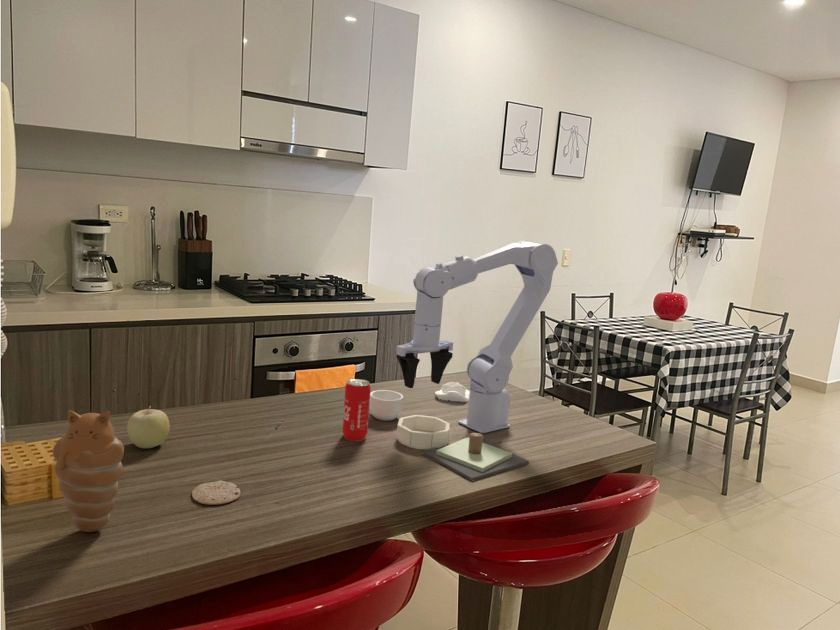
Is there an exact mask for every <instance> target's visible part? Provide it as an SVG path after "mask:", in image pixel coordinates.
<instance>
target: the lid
mask: <svg viewBox="0 0 840 630" xmlns="http://www.w3.org/2000/svg"><path fill="white" fill-rule="evenodd" d="M483 439H484V435H483V433H480V432H471V433H469V436H468V437H464V438H463V439H459V440H457V441H456V442H453V443H451V444H447V445H448V446H447V445H446V446H445V447H443V448H441V449H438V450H436V454H437V455H440V456H442V457H445V458H447V459H450V460H453V461H455V462H458V463H460V464H463V465H465V466H468V467H470V468H473V469H476V470H478V471H481V472H483V471H485V470H487V469H489V468H491V467H493V466H495V465H497V464H499V463H501V462H503V461H505V460H507V459H509V458H511V457H512V453H513V452H511V451H509V450H507V451H505V450H506V449H505V450H502V449H499V448H497V447H494V446H491V445H488V444H485V443H483V442H482V441H483ZM508 451H509V452H508Z"/></svg>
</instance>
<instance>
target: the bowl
mask: <svg viewBox="0 0 840 630" xmlns="http://www.w3.org/2000/svg"><path fill="white" fill-rule="evenodd" d="M450 425H451V424H450V422H447V421H445V420H444V419H442V418H439V417H437V416H432V415H431V416H430V415H421V414H413V415H409V416H404V417H403V416H402V417H400V418H399V419H398V423H397V427H396V440H397V441H398V442H399V443H400V444H401V445H404V446H406V447H407V448H411V449H414V450H415V449H416V450H421V451H427V450H431V449H435V448H439V447H443V446H447V445H449V436H450Z"/></svg>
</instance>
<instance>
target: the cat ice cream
mask: <svg viewBox="0 0 840 630" xmlns="http://www.w3.org/2000/svg"><path fill="white" fill-rule="evenodd" d="M110 416H111V412H110V410H107V411H104V412H102V413H97V412H87V413H83V414H79V413H77V412H75V411H74V410H71V409H68V411H67V420H68V427H67V429H66V432H65V435H64V436H62V437H61V438H59V439H58V440H57V442H55V444H54V445H53V448H52V456H53V459H54V460H55V462H56V463H55V466H54V473H55V476H56V477H57V478H58V479H59V485H58V486H59V490H60V493H61V495H62V496H63V500H64V506H65V508H66V511H67V512H68V513H69V514H70V515H71V521H72V524H73V526H74V527H75V528H76V529H78V530H79V531H81V532H84V533H94V532H98V531H100V530H101V529H103V528H105V527H106V525H107V524H108V523H109V521H110V518H111V512H112V511H113V509H114V507H115V502H116V501H115V499H116V497H117V495H118V490H119V480H120V478H121V477H122V476H123V472H124V467H123V463H122V459H123V457H124V453H125V447H124V444H123V442H122V441H121V440H119V438H117V437H116V435H115V431H114V427H113V424H112V422H111V421H110Z"/></svg>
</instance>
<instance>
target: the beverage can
mask: <svg viewBox="0 0 840 630" xmlns="http://www.w3.org/2000/svg"><path fill="white" fill-rule="evenodd" d="M344 388H345V389H344V403H343V404H344V405H343V406H344V407H343V420H342V434H343V437H344V439H345V440H347V441H351V442H360V441H364V440H365V439H366V437H367V434H368V429H369V428H368V427H369V426H368V425H369V415H370V413H369V412H370V404H369V403H370V393H371V388H372V387H371V384H370V381H368V380H367V379H359V378H355V379H354V378H353V379H352V378H351V379H348V380H347V381H346V385H345V387H344Z"/></svg>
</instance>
